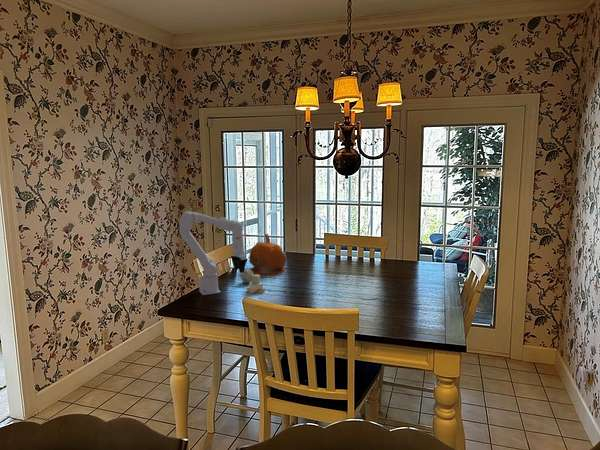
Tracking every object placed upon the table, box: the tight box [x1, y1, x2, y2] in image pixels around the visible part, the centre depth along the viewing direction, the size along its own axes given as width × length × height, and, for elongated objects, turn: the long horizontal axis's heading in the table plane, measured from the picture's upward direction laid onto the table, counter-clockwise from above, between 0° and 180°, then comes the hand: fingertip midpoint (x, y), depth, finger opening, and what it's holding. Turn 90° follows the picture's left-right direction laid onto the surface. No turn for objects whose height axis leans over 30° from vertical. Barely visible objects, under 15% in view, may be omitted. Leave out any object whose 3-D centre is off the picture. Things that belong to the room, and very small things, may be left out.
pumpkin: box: [248, 233, 287, 276], centre depth 270 cm, size 22×25×22 cm
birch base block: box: [246, 286, 266, 295], centre depth 230 cm, size 7×7×2 cm
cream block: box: [248, 281, 264, 290], centre depth 230 cm, size 6×6×2 cm
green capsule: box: [251, 274, 261, 284], centre depth 230 cm, size 4×4×4 cm
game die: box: [238, 269, 255, 284], centre depth 245 cm, size 9×8×10 cm
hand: (239, 270), depth 232 cm, fingers open, 7 cm apart
